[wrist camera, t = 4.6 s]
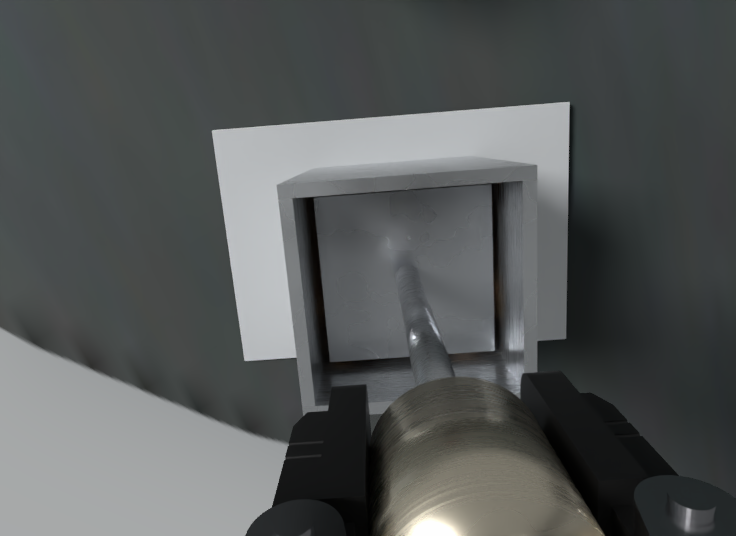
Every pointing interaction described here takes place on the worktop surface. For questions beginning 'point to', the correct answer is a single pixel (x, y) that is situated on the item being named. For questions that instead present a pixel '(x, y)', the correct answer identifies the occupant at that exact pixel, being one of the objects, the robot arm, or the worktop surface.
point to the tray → (378, 145)
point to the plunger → (437, 369)
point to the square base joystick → (510, 274)
